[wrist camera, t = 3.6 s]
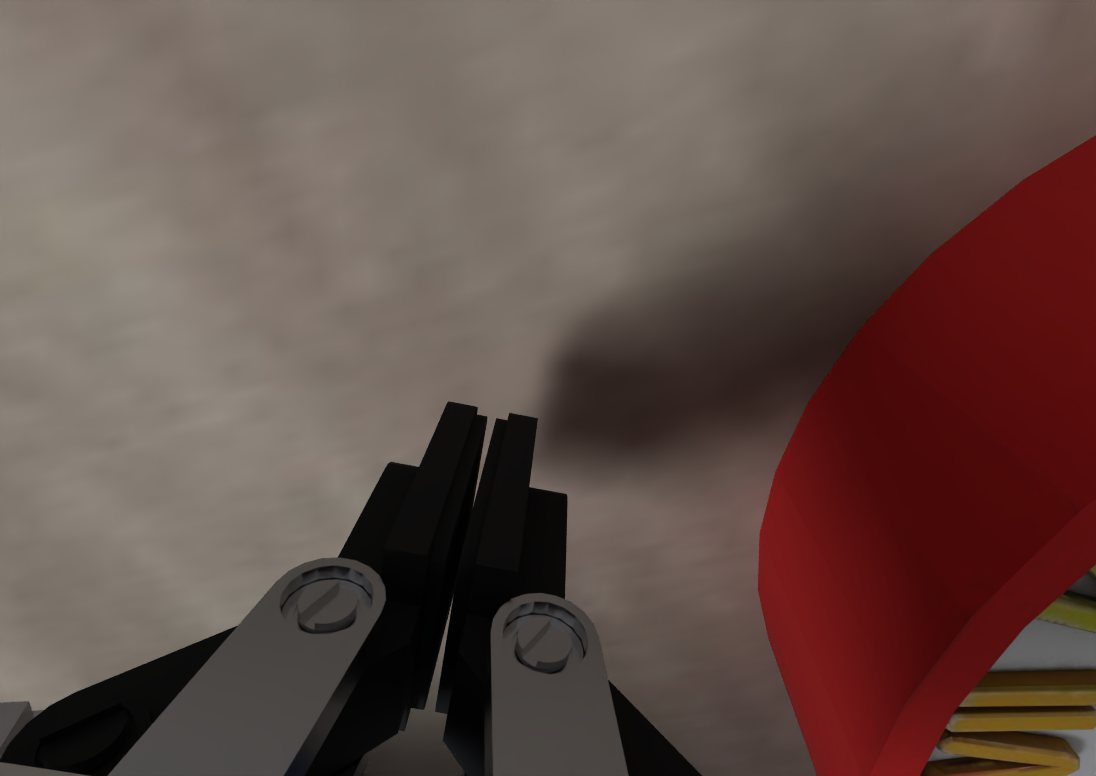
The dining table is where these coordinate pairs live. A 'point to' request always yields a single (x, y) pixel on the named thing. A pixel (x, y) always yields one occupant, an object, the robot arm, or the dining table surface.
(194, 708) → the robot arm
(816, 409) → the toy clock
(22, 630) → the dining table surface
